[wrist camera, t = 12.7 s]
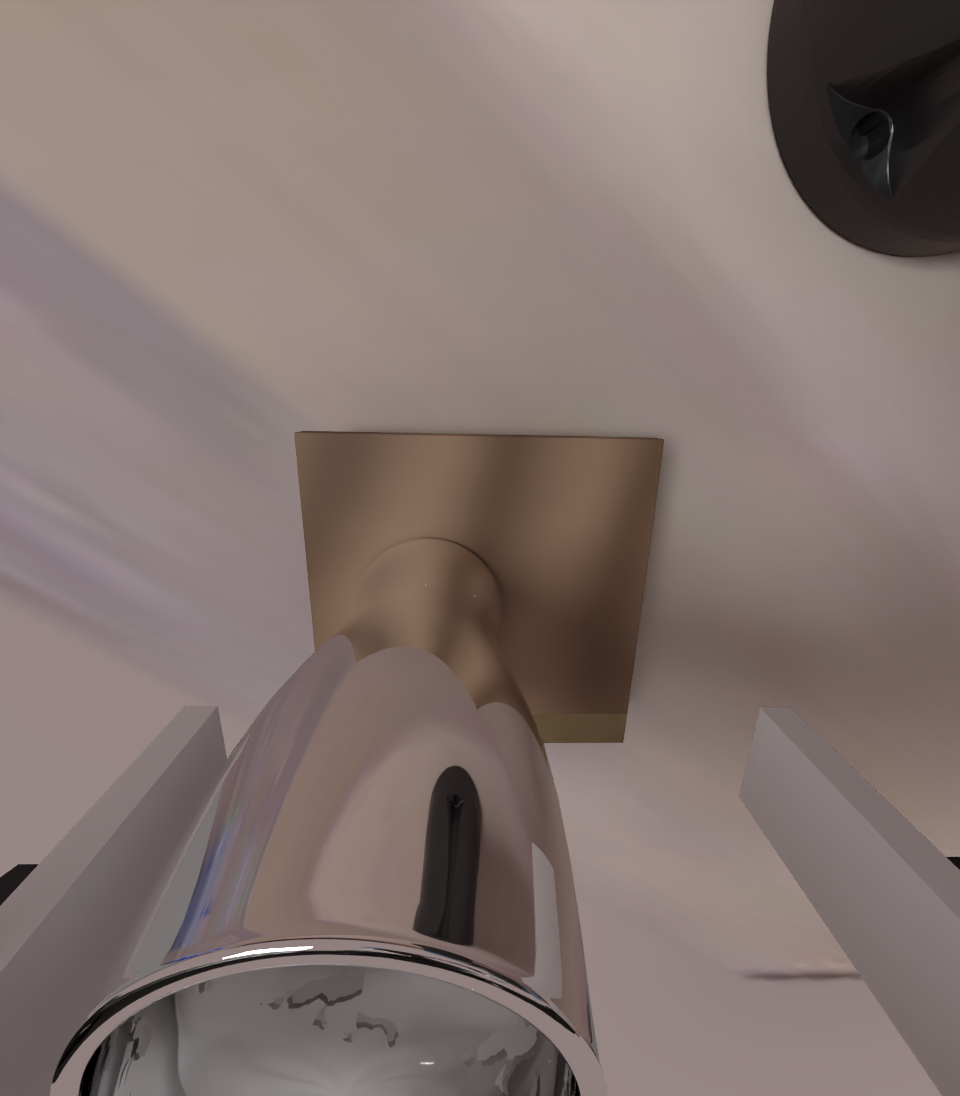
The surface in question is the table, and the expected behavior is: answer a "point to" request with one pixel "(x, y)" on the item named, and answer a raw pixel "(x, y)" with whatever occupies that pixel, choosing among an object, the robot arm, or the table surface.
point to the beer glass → (364, 882)
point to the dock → (501, 547)
